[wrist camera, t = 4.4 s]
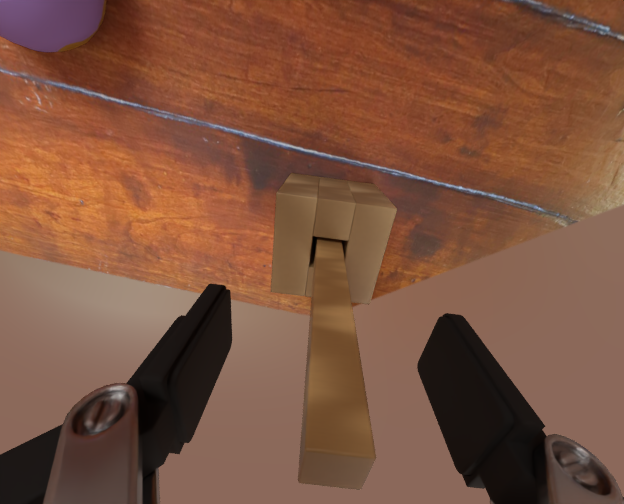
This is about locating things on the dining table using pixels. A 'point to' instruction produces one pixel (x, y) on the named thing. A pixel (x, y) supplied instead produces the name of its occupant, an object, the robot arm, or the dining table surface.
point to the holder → (329, 232)
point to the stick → (334, 382)
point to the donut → (50, 23)
